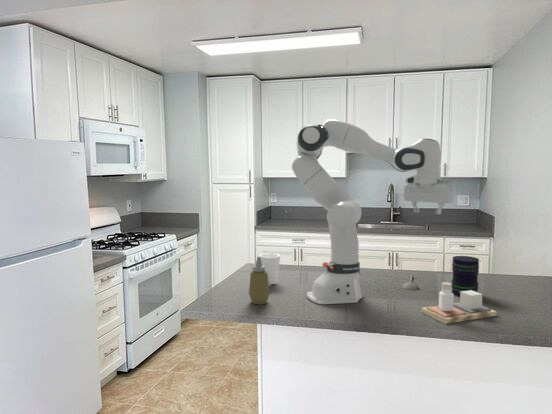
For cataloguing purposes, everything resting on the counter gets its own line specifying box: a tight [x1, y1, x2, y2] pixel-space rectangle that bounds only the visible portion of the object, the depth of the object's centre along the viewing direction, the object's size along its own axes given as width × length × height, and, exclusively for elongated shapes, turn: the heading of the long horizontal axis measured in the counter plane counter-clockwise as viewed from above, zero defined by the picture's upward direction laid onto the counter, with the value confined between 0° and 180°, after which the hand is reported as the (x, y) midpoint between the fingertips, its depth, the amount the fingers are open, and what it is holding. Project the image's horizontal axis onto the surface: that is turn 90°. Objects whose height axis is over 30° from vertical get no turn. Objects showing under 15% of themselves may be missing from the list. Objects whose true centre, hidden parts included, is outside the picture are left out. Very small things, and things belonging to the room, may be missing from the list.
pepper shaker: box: [438, 281, 455, 312], centre depth 140 cm, size 4×4×10 cm
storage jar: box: [451, 255, 480, 298], centre depth 164 cm, size 10×10×15 cm
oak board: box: [420, 301, 497, 325], centre depth 142 cm, size 22×12×2 cm, turn 109°
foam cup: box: [258, 252, 281, 285], centre depth 182 cm, size 10×9×13 cm
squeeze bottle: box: [248, 256, 271, 305], centre depth 155 cm, size 8×8×18 cm
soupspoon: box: [402, 274, 419, 291], centre depth 180 cm, size 22×3×7 cm
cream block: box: [459, 290, 483, 309], centre depth 143 cm, size 5×5×5 cm
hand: (427, 213), depth 163 cm, fingers open, 8 cm apart
